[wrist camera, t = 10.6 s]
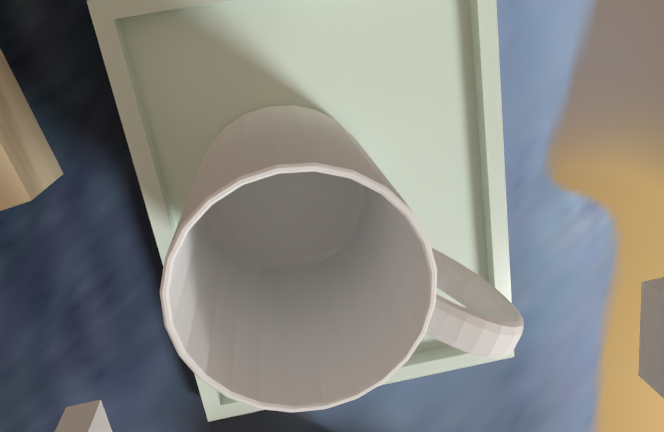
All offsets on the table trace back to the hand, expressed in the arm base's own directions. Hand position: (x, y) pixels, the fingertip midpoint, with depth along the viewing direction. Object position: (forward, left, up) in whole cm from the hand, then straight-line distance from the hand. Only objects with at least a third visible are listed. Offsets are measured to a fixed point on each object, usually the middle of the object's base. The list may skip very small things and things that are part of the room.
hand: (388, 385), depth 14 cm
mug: (0, 0, -14) cm, 14 cm away
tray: (0, 0, -14) cm, 14 cm away
